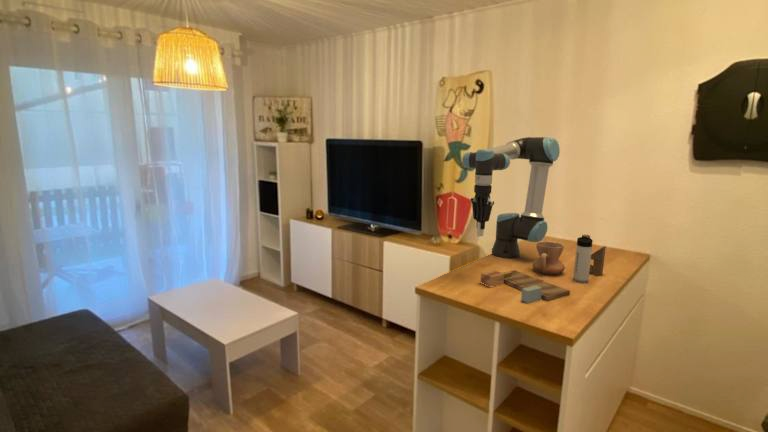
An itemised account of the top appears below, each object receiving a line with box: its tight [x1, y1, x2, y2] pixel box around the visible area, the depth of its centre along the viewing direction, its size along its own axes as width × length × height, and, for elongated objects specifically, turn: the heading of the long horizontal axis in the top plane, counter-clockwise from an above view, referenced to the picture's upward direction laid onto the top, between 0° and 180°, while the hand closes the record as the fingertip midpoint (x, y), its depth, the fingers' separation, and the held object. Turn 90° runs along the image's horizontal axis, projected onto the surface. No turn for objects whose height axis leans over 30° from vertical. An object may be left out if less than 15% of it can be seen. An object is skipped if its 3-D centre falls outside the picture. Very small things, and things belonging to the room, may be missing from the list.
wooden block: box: [581, 234, 607, 277], centre depth 196 cm, size 4×11×18 cm, turn 43°
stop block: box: [520, 285, 542, 304], centre depth 163 cm, size 3×8×5 cm, turn 120°
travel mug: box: [572, 235, 594, 284], centre depth 184 cm, size 6×7×20 cm
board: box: [503, 270, 571, 302], centre depth 178 cm, size 30×14×2 cm, turn 30°
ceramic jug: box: [532, 240, 566, 276], centre depth 196 cm, size 18×14×14 cm
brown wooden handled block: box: [480, 269, 513, 288], centre depth 183 cm, size 6×16×5 cm, turn 120°
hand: (480, 235), depth 186 cm, fingers closed
